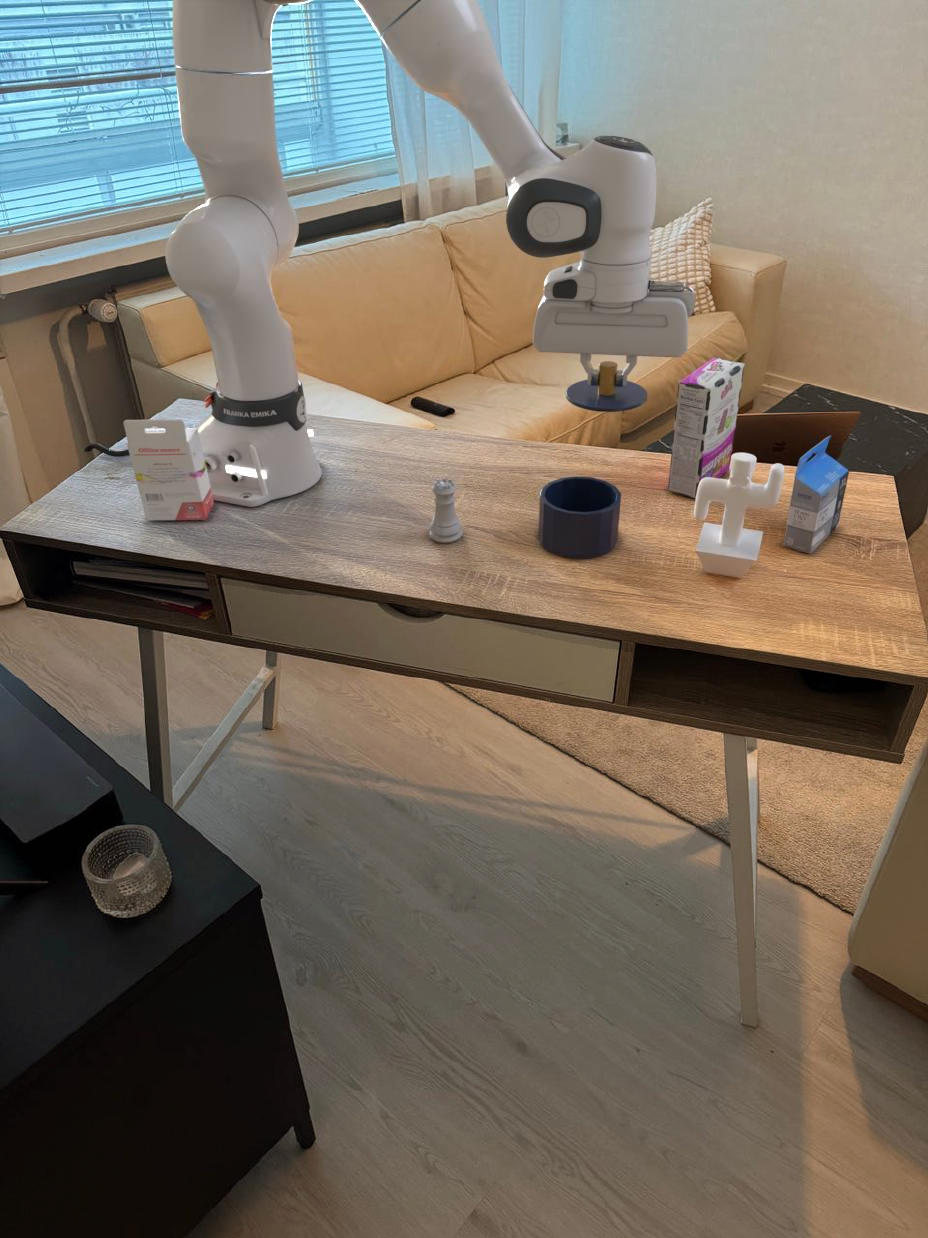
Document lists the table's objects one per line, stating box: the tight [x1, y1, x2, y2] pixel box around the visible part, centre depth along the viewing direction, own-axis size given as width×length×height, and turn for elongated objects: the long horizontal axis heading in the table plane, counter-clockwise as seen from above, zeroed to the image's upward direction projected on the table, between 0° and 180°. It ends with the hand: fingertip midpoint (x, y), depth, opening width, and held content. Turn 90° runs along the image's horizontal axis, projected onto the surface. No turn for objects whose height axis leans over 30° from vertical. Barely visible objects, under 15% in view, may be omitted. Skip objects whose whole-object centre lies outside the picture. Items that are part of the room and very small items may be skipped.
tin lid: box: [565, 360, 648, 413], centre depth 124 cm, size 11×11×5 cm
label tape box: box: [783, 435, 850, 555], centre depth 116 cm, size 9×4×12 cm, turn 139°
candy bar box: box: [667, 357, 746, 500], centre depth 128 cm, size 11×5×16 cm, turn 143°
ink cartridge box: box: [123, 418, 215, 521], centre depth 124 cm, size 9×5×15 cm, turn 88°
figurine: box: [693, 452, 786, 579], centre depth 110 cm, size 7×9×15 cm
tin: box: [538, 475, 622, 560], centre depth 119 cm, size 10×10×6 cm
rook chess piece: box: [429, 477, 464, 544], centre depth 120 cm, size 4×4×8 cm
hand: (606, 384), depth 124 cm, fingers closed on tin lid, 2 cm apart
